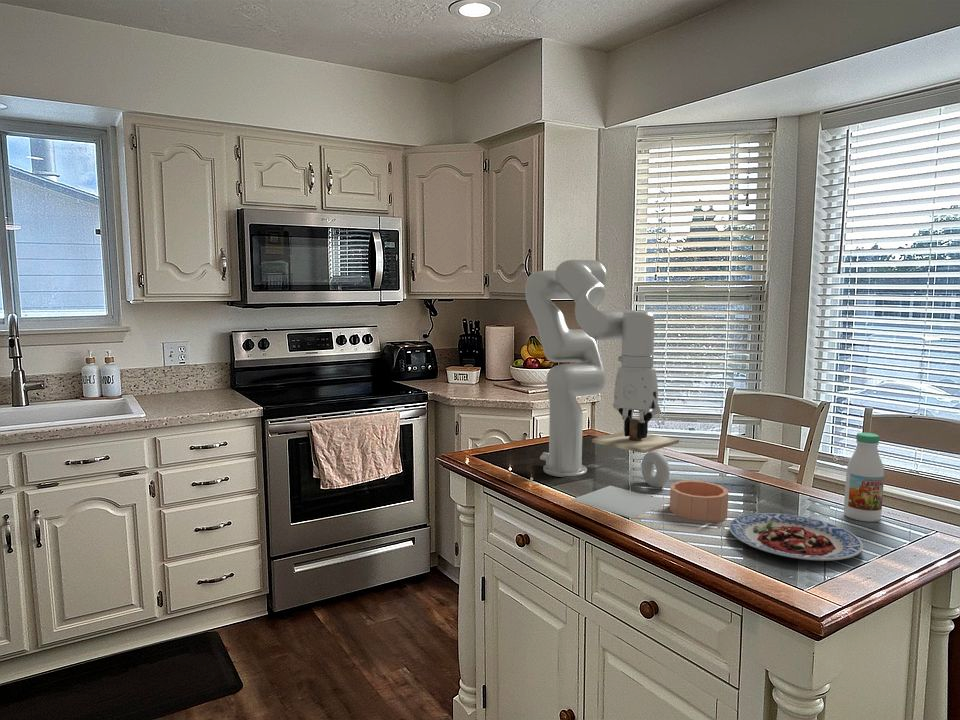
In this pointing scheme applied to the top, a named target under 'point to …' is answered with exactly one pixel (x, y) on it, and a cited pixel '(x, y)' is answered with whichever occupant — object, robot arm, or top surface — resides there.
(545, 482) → the top surface
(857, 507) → the milk bottle
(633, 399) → the robot arm
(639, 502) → the mat
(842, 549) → the ceramic plate
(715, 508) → the bowl
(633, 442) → the lid
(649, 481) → the donut
